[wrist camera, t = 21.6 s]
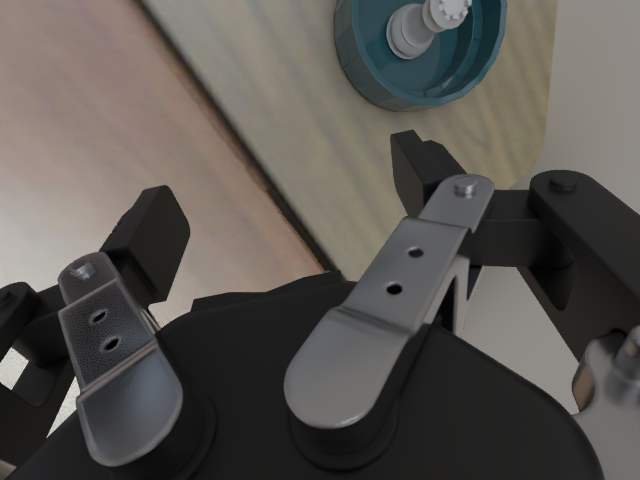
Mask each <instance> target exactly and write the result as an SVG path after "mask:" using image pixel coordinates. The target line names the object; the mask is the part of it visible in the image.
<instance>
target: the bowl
mask: <svg viewBox="0 0 640 480" xmlns="http://www.w3.org/2000/svg"><path fill="white" fill-rule="evenodd" d="M425 1H426V0H338V4H337V8H336V11H335V44H336V47H337V50H338V54H339V57H340V61H341V64H342V67H343V69H344V70H345V72H346V74H347V75H348V77H349V78H350V80H351V82H352V83H353V85H354V86H355V88H356V89H357V90H358V91H359V92H360V93H361V94H363V95H364V96H365V97H366V98H367V99H369V100H370V101H371V102H372V103H374V104H376V105H378V106H381V107H384V108H386V109H389V110H391V111H403V112H414V111H418V110H423V109H427V108H431V107H435V106H439V105H442V104H445V103H448V102H451V101H453V100H456V99H459V98H461V97H463V96H464V95H465V94H467V93H468V92H469V91H470V90H471V89H473V88H474V87H475V86H476V85H478V84H479V83H480V82H481V81H482V79H483V78H484V76H485V75H486V73H487V72H488V70H489V69H490V67H491V66H492V64H493V63H494V61H495V60H496V57H497V54H498V51H499V48H500V45H501V43H502V40H503V37H504V33H505V23H506V12H507V1H506V0H472V2H471V6H470V7H468V9H467V11H468V13H467V14H466V16H465V18H464V21H463V22H462V23H461V24H460V25H459V26H458V27H455V28H453V29H446V30H444V31H442V32H437V33H436V34H435V36H434V38H433V40H432V43H431V45H430V46H429V47H428V48H427V49H426V50H425V51H424V53H421V54H420V55H419V56H418V57H415V58H413V59H403V58H401V57H399V56H398V55H396V54H395V53H394V52H393V51H392V49H391V48H390V47H389V43H388V40H387V37H386V36H387V25H388V22H389V20H390V17H391V16H392V15H393V14H394V13H395V12H396V11H397V10H398V9H400V8H401V7H403V6H405V5H408V4H411V3H415V4H421V5H422V4H424V3H425Z"/></svg>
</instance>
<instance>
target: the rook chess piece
mask: <svg viewBox="0 0 640 480" xmlns="http://www.w3.org/2000/svg"><path fill="white" fill-rule="evenodd" d="M471 2H472V0H426V1H425V3H424V4H422V5H421V4H415V3H411V4H408V5H405V6H403V7H401V8H400V9H398V10H397V11H396V12H395V13H394V14H393V15H392V16H391V17H390V20H389V22H388V25H387V36H386V37H387V40H388V43H389V47H390V48H391V49H392V51H393V52H394V53H395V54H396V55H398V56H399V57H401V58H403V59H413V58H415V57H418V56H419V55H420V54H421V53H424V51H425V50H426V49H427V48H428V47H429V46H430V45H431V43H432V40H433V38H434V36H435V34H436V33H437V32H442V31H444V30H446V29H453V28H455V27H458V26H459V25H460V24H461V23H462V22H463V21H464V18H465V16H466V14H467V13H468V11H467V9H468V7H470V6H471Z"/></svg>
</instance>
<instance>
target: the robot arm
mask: <svg viewBox="0 0 640 480" xmlns="http://www.w3.org/2000/svg"><path fill="white" fill-rule="evenodd" d="M390 142H391V154H392V166H393V177H394V183H395V187H396V191H397V193H398V195H399V197H400V199H401V202H402V204H403V206H404V208H405V210H406V212H407V214H408V216H406V217H404V218H403V219H402V220H401V221H400V223H399V224H398V226H397V227H396V228H395V230H394V231H393V233H392V234H391V236H390V237H389V238H388V240H387V241H386V243H385V244H384V246H383V247H382V249H381V250H380V251H379V253H378V254H377V256H376V257H375V259H374V260H373V261H372V263H371V264H370V266H369V267H368V269H367V270H366V271H365V273H364V274H363V276H362V277H361V279H360V280H359V281H358V282H354V281H343V280H342V276H341V272H340V270H338V271H333V272H328V273H323V274H318V275H313V276H308V277H303V278H301V279H298V280H296V281H293V282H291V283H288V284H285V285H283V286H280V287H278V288H275V289H273V290H270V291H267V292H228V293H223V294H218V295H213V296H208V297H203V298H198V299H194V301H193V304H192V308H191V311H190V312H188V313H186V314H184V315H182V316H180V317H178V318H176V319H174V320H173V321H171V322H170V323H168V324H167V325H165V326H164V327H163V328H161V326H160V325H159V323H158V322H157V320H156V319H155V317H154V315H153V314H152V313H151V311H150V310H149V309H148V307H149V304H154V303H158V302H163V301H166V300H167V297H168V294H169V292H170V289H171V286H172V284H173V281H174V278H175V275H176V273H177V270H178V267H179V265H180V262H181V259H182V257H183V254H184V251H185V248H186V246H187V243H188V240H189V238H190V226H189V223H188V221H187V219H186V217H185V215H184V213H183V211H182V209H181V207H180V205H179V204H178V202H177V200H176V198H175V196H174V194H173V192H172V191H171V189H170V188H169V187H168V186H166V185H162V186H158V187H154V188H149V189H145V190H143V191H142V193H141V195H140V196H139V198H138V199H137V201H136V202H135V204H134V205H133V207H132V208H131V209H129V210H128V211H127V212H126V213H125V214H124V215H123V216H122V217H121V219H120V220H119V222H118V223H117V226H115V228H114V229H113V231H112V233H111V234H110V235H109V237H108V238H107V239H106V241H105V242H104V244H103V245H102V247H101V248H100V250H99V251H98V252H95V253H91V254H87V255H85V256H83V257H81V258H79V259H77V260H75V261H74V262H72V263H71V264H69V265H68V266H67V267H66V268H65V269H64V270H63V271H62V272H61V273H60V275H59V277H58V284H57V285H55V286H53V287H50V288H48V289H45V290H43V291H40V292H38V293H36V292H35V291H34V290H33V289H32V288H31V287H30V286H29V285H28V284H27V283H26V282H17V283H13V284H10V285H7V286H5V287H3V288H1V289H0V362H1V361H2V359H3V358H4V356H5V355H6V354H7V352H8V351H9V349H10V348H11V347H12V348H13V349H15V350H16V351H17V352H18V353H20V354H21V355H22V356H23V357H25V358H26V359H27V360H28V361H29V362H28V364H27V366H26V367H25V369H24V370H23V372H22V374H21V375H20V377H19V379H18V380H17V382H16V384H15V385H14V387H13V389H12V390H10V389H9V388H7V387H6V386H4V385H3V384H2V383H1V382H0V480H640V215H639V214H638V213H636V212H635V211H633V210H632V209H631V208H630V207H628V206H627V205H626V204H625V203H623V202H622V201H621V200H620V199H618V198H617V197H616V196H614V195H613V194H612V193H611V192H609V191H608V190H607V189H606V188H604V187H603V186H602V185H600V184H599V183H598V182H596V181H595V180H594V179H593V178H591V177H589V176H587V175H585V174H583V173H579V172H575V171H569V170H551V171H545V172H542V173H539V174H537V175H536V176H534V177H533V178H532V179H531V182H530V186H529V190H495V185H494V183H493V182H492V181H491V180H490V179H488V178H486V177H484V176H481V175H476V174H467V173H466V171H465V170H464V169H463V168H462V167H461V166H460V165H459V163H458V162H457V161H456V160H455V159H454V158H453V157H452V155H451V154H450V153H448V151H447V150H446V148H445V147H444V146H443V145H441V144H439V143H437V142H434V141H432V140H429V141H425V142H422V140H421V139H420V138H419V136H418V135H417V134H416V133H415V131H414V130H408V131H404V132H400V133H395V134H391V137H390ZM486 266H504V267H517V269H518V271H519V272H520V274H521V275H522V277H523V278H524V280H525V282H526V283H527V285H528V286H529V288H530V289H531V291H532V292H533V294H534V295H535V297H536V298H537V300H538V301H539V303H540V304H541V306H542V307H543V309H544V310H545V312H546V313H547V315H548V316H549V318H550V320H551V321H552V323H553V324H554V326H555V327H556V329H557V330H558V332H559V333H560V335H561V336H562V338H563V339H564V341H565V342H566V344H567V346H568V347H569V348H570V350H571V351H572V353H573V355H574V356H575V358H576V359H577V361H578V362H579V366H578V368H577V370H576V373H575V375H574V377H573V380H572V393H573V396H574V398H575V401H576V403H577V406H578V409H579V413H577V414H574V415H570V413H569V412H568V411H567V410H566V409H565V408H564V407H563V406H562V405H561V404H560V403H559V402H557V401H556V400H555V399H554V398H553V397H552V396H550V395H549V394H548V393H546V392H545V391H544V390H542V389H540V388H539V387H538V386H536V385H535V384H533V383H531V382H530V381H528V380H527V379H525V378H523V377H522V376H520V375H519V374H517V373H515V372H514V371H512V370H511V369H509V368H507V367H506V366H504V365H503V364H501V363H499V362H498V361H496V360H495V359H493V358H491V357H490V356H488V355H487V354H485V353H483V352H482V351H480V350H479V349H477V348H475V347H474V346H472V345H470V344H469V343H467V342H466V341H464V340H462V339H461V337H462V334H463V330H464V325H465V320H466V316H467V313H468V310H469V307H470V305H471V303H472V300H473V297H474V295H475V292H476V290H477V288H478V285H479V283H480V280H481V277H482V275H483V273H484V270H485V267H486ZM75 375H76V378H77V382H78V385H79V388H80V395H79V396H78V397H77V398H76V408H77V409H76V410H75V411H74V412H73V413H72V414H71V415H70V416H69V417H68V418H67V419H66V420H65V421H64V422H63V423H62V424H61V425H60V426H59V427H58V428H57V429H56V430H55V431H54V432H53V433H52V434H51V435H50V436H48V437H47V435H48V433H49V431H50V429H51V427H52V424H53V422H54V420H55V418H56V416H57V414H58V412H59V409H60V407H61V405H62V403H63V401H64V399H65V397H66V395H67V392H68V390H69V388H70V386H71V384H72V382H73V380H74V377H75ZM46 437H47V438H46Z"/></svg>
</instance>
